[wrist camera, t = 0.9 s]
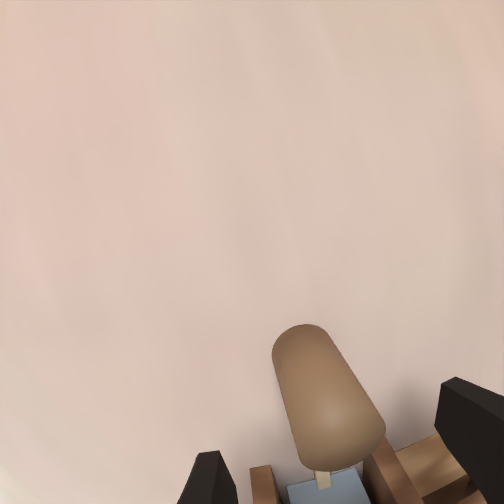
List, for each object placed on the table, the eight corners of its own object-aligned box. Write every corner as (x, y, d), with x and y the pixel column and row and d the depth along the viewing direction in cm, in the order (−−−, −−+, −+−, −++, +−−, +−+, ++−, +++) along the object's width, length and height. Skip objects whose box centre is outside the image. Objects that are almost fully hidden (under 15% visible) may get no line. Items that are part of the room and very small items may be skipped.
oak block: (444, 428, 17) (475, 468, 12) (434, 464, 18) (459, 500, 13) (388, 453, 17) (414, 500, 12) (383, 486, 18) (404, 528, 13)
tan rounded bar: (346, 312, 14) (412, 388, 8) (354, 498, 18) (378, 558, 12) (247, 337, 14) (262, 434, 8) (294, 514, 17) (309, 578, 12)
